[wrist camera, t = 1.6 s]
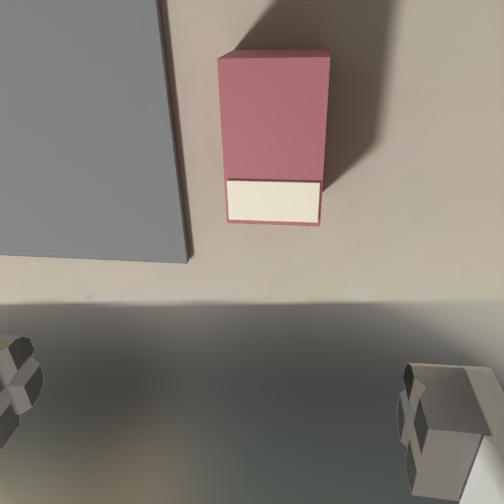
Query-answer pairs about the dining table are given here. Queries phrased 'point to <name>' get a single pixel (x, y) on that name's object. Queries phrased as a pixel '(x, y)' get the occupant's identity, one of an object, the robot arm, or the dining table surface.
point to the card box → (274, 134)
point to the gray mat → (87, 133)
